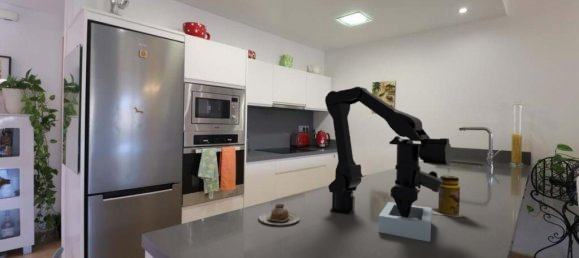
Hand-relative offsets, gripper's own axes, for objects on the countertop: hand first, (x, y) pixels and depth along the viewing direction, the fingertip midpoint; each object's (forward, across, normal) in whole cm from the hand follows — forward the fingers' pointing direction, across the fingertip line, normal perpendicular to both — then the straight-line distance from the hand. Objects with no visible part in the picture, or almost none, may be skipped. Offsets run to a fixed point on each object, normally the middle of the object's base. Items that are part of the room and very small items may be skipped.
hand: (406, 218), depth 76 cm
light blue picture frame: (+2, 0, 0) cm, 2 cm away
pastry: (+3, -13, +33) cm, 36 cm away
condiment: (+3, +22, -10) cm, 24 cm away
